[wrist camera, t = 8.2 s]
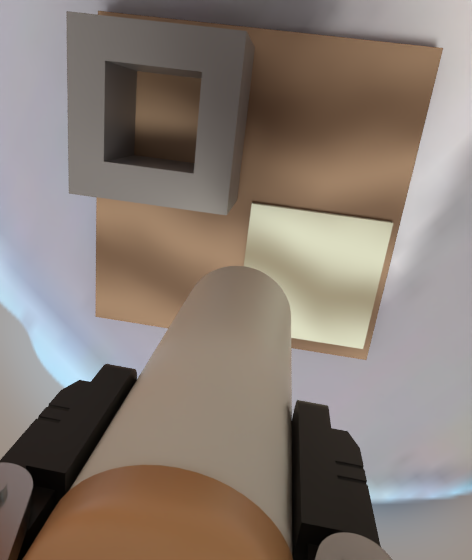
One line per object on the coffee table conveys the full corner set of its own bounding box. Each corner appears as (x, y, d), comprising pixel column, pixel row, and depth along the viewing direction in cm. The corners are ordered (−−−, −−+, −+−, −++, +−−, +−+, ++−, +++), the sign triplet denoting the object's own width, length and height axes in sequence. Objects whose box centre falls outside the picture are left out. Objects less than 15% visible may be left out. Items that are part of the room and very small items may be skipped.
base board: (107, 16, 28) (95, 9, 26) (435, 52, 26) (445, 47, 25) (103, 308, 35) (93, 318, 33) (363, 349, 33) (367, 362, 32)
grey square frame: (106, 30, 27) (66, 11, 22) (254, 47, 26) (246, 30, 21) (103, 182, 30) (68, 193, 25) (237, 200, 29) (226, 215, 25)
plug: (190, 256, 16) (-30, 532, 5) (301, 273, 16) (328, 607, 5) (180, 354, 18) (-11, 745, 6) (282, 372, 18) (269, 813, 6)
